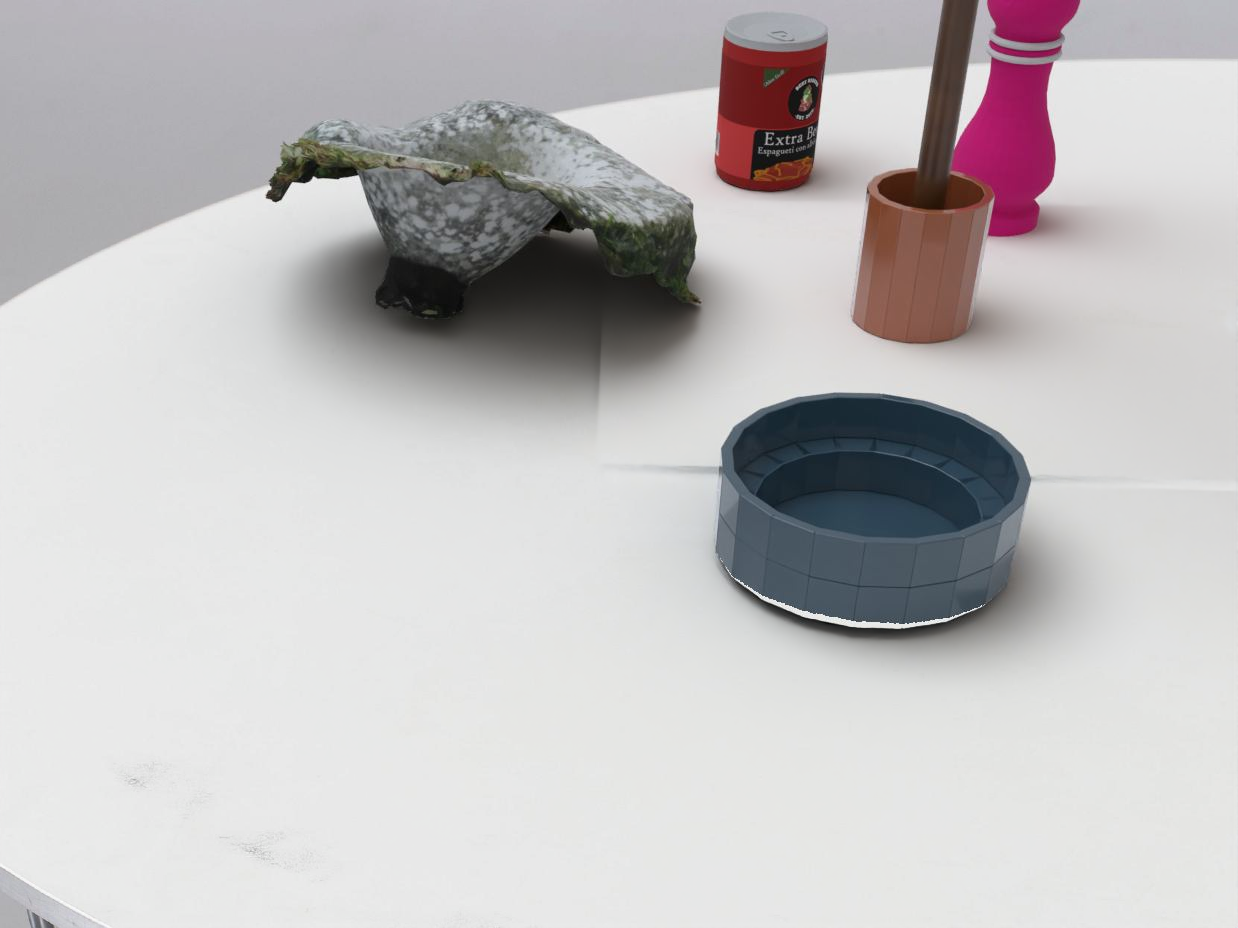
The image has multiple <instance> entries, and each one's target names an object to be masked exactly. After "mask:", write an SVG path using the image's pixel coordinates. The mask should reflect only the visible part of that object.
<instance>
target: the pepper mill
mask: <svg viewBox="0 0 1238 928" xmlns="http://www.w3.org/2000/svg"><path fill="white" fill-rule="evenodd" d="M986 5H987V11H988V13H989V16H990V18H991V19H992V21H993V23H994V27H993V28H991V29H990V31H989V32H988V38H989V41H988V44H987V45H986V48H985V50H986V53H987V54H988V55H989V56H990V68H989V76H988V80H987V84H986V87H985V88H986V89H985V91H984V95H983V97H982V100H981V102H980V105H979V106H978V108H977V110H976V112H975V113H974V115H973V116H972V118H971V119H970V121H969V122H968V123H967V125H966V127H965V128H964V130H963V131H962V133H961V134H960V136H959V139H958V141H957V143H956V144H955V148H954V154H953V160H952V166H951V171H956V172H960V173H963V174H966V175H969V176H972V177H975V178H977V179H980V180H981V181H983V182H984V183H986V184H987V185H989V186H990V187H991V188H992V191H993V193H994V195H995V198H994V203H993V209H992V214H991V220H990V225H989V231H988V236H987V237H998V238H999V237H1002V238H1004V237H1015V236H1022V235H1026V234H1028V233H1030V232H1032V231H1033V230H1035V229H1036V227H1037V225H1038V221H1039V217H1040V216H1039V215H1040V211H1041V207H1040V204H1039V203H1038V202H1037V200H1036V199H1037V198H1038V197H1039V196H1040V195H1041V194H1043V193H1045V191H1046V190H1047V189H1048V188H1049V187H1050V186H1051V184H1052V182H1053V180H1054V178H1055V171H1056V169H1055V168H1056V164H1057V163H1056V161H1057V155H1056V154H1057V153H1056V143H1055V138H1054V134H1053V129H1052V126H1051V120H1050V114H1049V109H1048V89H1049V82H1050V77H1051V73H1052V70H1053V66H1054V63H1055V61H1057V60H1060V58H1062V56H1063V49H1062V47H1063V44H1064V43H1065V41H1066V37H1065V34H1063V32H1062V30H1063V29H1064V27H1066V26H1067V25H1068V24H1069V23H1070V22H1071V21H1072V20H1073V19H1074V17H1075V16H1076V15H1077V12H1078V10H1079V7H1080V5H1081V0H986Z"/></svg>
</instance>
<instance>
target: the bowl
mask: <svg viewBox="0 0 1238 928" xmlns="http://www.w3.org/2000/svg"><path fill="white" fill-rule="evenodd" d="M1031 484H1032V476H1031V473H1030V471H1029V468H1028V466H1027V463H1026V460H1025V457H1024V455H1023V454H1022V452H1020V451H1019V450H1018V449H1017V448H1016V446H1014V445H1013V444H1012V442H1010V441H1009V439H1007V438H1006V437H1005V436H1004V435H1003V434H1002V433H1000V431H998V430H996V429H994V428H992V427H991V426H989V425H987V424H985V423H983V422H982V421H980V420H978V419H976V418H975V417H973V416H971V415H969V414H966V413H964V412H961V411H958V410H955V409H952V408H950V407H946V406H943V405H941V404H938V403H937V404H936V403H935V402H932V401H928V400H924V399H918V398H913V397H912V398H911V397H905V396H900V395H893V394H887V393H880V392H879V393H877V392H842V391H841V392H840V391H839V392H838V391H837V392H836V391H835V392H828V393H827V392H825V393H819V394H811V395H803V396H796V397H792V398H790V399H787V400H783V401H780V402H777V403H774V404H771V405H768V406H765V407H762V408H759V409H757V410H756V411H755V412H753V413H752V414H750V415H749V416H747V417H745V418H744V419H742V420H741V421H740V422H738V423H737V424H735V425H734V426H733V427H732V429H731V431H730V432H729V434H728V436H727V437H726V439H725V440H724V442H723V444H722V445H721V448H720V454H719V468H718V478H717V491H716V502H715V503H716V504H715V514H714V524H713V535H714V549H715V551H716V552H715V554H716V553H717V554H718V556H719V557H718V556H717V557H718V559H719V558H721V560H722V561H723V563H724V565H725V566H726V567H727V569H728V570H729V572H730V573H731V575H732V576H733V577H734V578H736V579H738V580H740V582H743V583H744V585H746V586H747V585H748V587H750V588H752V589H753V590H754V591H756V592H758V593H759V594H761V595H762V596H765V597H768V598H769V599H773V600H776V601H777V602H781V603H785V605H789V606H792V607H794V608H797V609H799V610H802V611H808V612H810V613H813V614H816V613H817V614H823V615H825V616H829V617H838V618H841V619H846V620H851V621H856V622H862V621H866V622H880V623H887V622H889V623H894V624H896V623H899V624H905V623H907V624H909V623H913V622H915V623H917V622H922V621H923V622H925V621H930V620H935V619H943V618H950V617H952V616H953V617H954V616H955V615H959V614H961V613H963V612H967V611H970V610H972V609H974V608H978V607H980V606H981V605H982V606H983V605H984V604H986V602H988V601H989V600H990V599H991V598H993V597H994V596H995V595H996V594H997V593H998V592H999V591H1000V592H1001V591H1002V590H1004V588H1006V586H1008V581H1009V579H1010V574H1011V571H1012V568H1013V564H1014V560H1015V556H1016V552H1017V547H1018V543H1019V539H1020V534H1021V529H1022V524H1023V520H1024V516H1025V511H1026V507H1027V502H1028V498H1029V493H1030V490H1031V489H1030V488H1031ZM717 554H716V555H717ZM721 560H720V561H721ZM723 563H722V564H723ZM724 565H723V566H724ZM725 566H724V567H725ZM727 569H726V570H727ZM1000 592H999V593H1000ZM999 593H998V594H999ZM998 594H997V595H998ZM997 595H996V596H997ZM996 596H995V597H996ZM995 597H994V598H995ZM994 598H993V599H994ZM991 600H992V599H991ZM991 600H990V601H991ZM990 601H989V602H990ZM989 602H988V603H989ZM986 605H987V604H986Z"/></svg>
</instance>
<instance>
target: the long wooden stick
mask: <svg viewBox="0 0 1238 928" xmlns="http://www.w3.org/2000/svg"><path fill="white" fill-rule="evenodd" d="M979 2H980V0H942V5H941V12H940V18H939V24H938V31H937V37H936V45H935V50H934V57H933V64H932V70H931V76H930V83H929V89H928V90H929V91H928V97H927V103H926V110H925V115H924V123H923V129H922V136H921V142H920V148H919V149H920V150H919V156H918V162H917V167H916V168H917V174H916V181H915V187H914V194H913V200H912V207H914V208H920V209H926V210H944V208H945V202H946V196H947V190H948V184H949V178H950V172H951V166H952V160H953V154H954V149H955V147H956V141H957V136H958V129H959V122H960V118H961V117H960V116H961V112H962V111H961V110H962V104H963V100H964V93H965V87H966V81H967V74H968V68H969V62H970V57H971V50H972V46H973V45H972V44H973V39H974V32H975V27H976V20H977V15H978V8H979Z"/></svg>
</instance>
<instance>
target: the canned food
mask: <svg viewBox="0 0 1238 928" xmlns="http://www.w3.org/2000/svg"><path fill="white" fill-rule="evenodd" d="M828 31H829V28H828V26H827V25H826V24H825V23H823V22H822V21H821V20H818V19H816V18H813V17H811V16H808V15H803V14H798V13H792V12H783V11H758V12H750V13H749V12H748V13H745V14H741V15H738V16H735V17H732V18H730V19H729V20H727V22H726V23H725V24H724V30H723V36H722V48H721V60H720V73H719V75H720V76H719V91H718V105H717V117H716V119H717V121H716V133H715V134H716V135H715V145H714V146H715V148H714V166H715V170H716V173H717V176H719V178H720V179H721V180H722V181H724V182H726V183H727V184H729V185H731V186H735V187H738V188H741V189H744V190H745V189H746V190H751V191H763V192H777V191H785V190H790V189H793V188H797V187H800V186H801V185H803V184H804V183H806V182H807V181H808V180H809V178H810V177H811V174H812V171H813V169H814V165H815V156H816V148H817V139H818V132H819V131H818V130H819V123H820V122H819V121H820V114H821V105H822V95H823V86H824V79H825V72H826V71H825V69H826V61H827V50H828V41H829V35H828V33H829V32H828Z"/></svg>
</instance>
